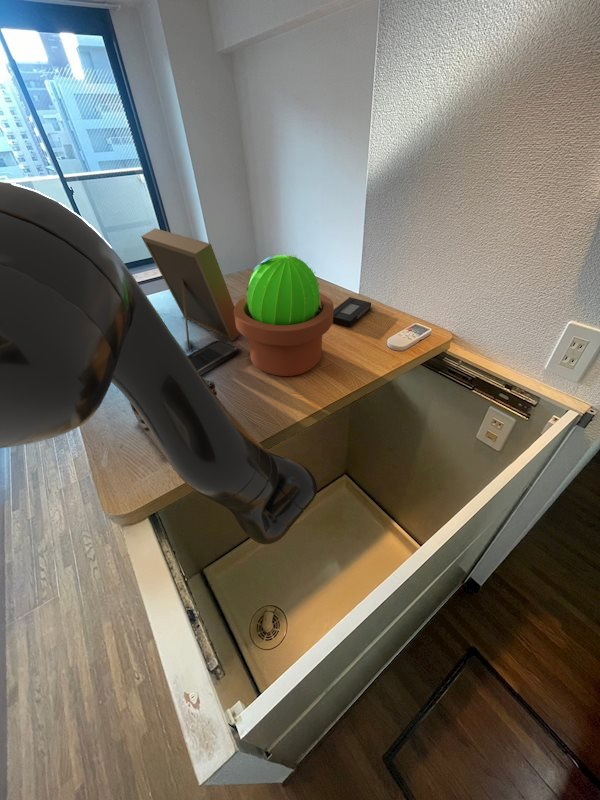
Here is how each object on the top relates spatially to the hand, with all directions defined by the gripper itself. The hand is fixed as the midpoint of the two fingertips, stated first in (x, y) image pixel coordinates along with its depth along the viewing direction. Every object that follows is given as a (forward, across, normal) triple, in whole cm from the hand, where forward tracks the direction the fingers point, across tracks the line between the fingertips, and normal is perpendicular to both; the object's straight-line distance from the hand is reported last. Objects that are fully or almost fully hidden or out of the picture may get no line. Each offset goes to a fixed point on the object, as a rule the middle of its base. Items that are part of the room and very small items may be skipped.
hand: (155, 380), depth 59 cm
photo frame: (+27, -22, +10) cm, 37 cm away
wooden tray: (-3, 0, +10) cm, 11 cm away
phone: (+13, -16, +10) cm, 24 cm away
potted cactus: (+1, -32, +10) cm, 33 cm away
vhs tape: (+4, -61, +10) cm, 62 cm away
